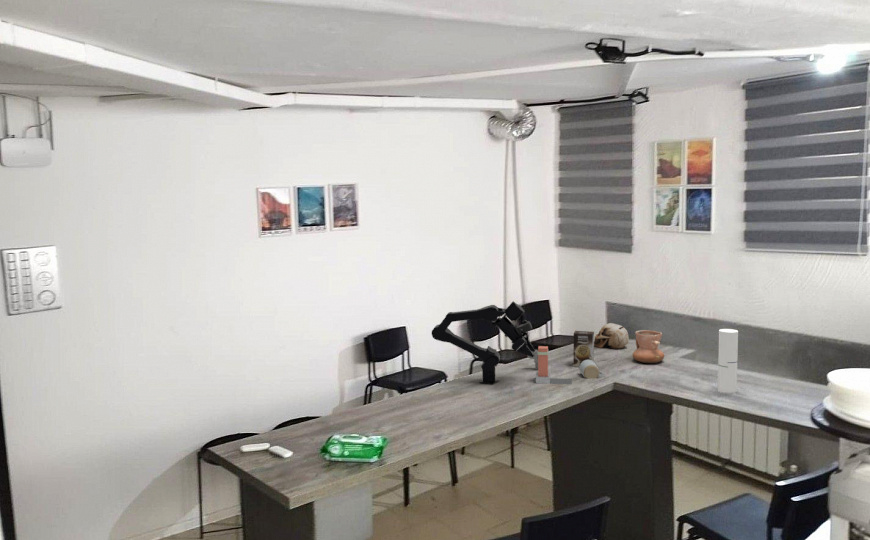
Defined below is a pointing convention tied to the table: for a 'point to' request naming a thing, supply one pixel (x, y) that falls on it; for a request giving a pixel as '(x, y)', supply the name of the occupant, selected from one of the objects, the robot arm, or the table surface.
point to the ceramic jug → (648, 347)
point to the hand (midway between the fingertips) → (533, 353)
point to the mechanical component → (535, 358)
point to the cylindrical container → (727, 360)
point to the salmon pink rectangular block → (543, 361)
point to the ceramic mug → (590, 369)
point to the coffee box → (583, 347)
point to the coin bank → (611, 337)
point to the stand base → (550, 380)
